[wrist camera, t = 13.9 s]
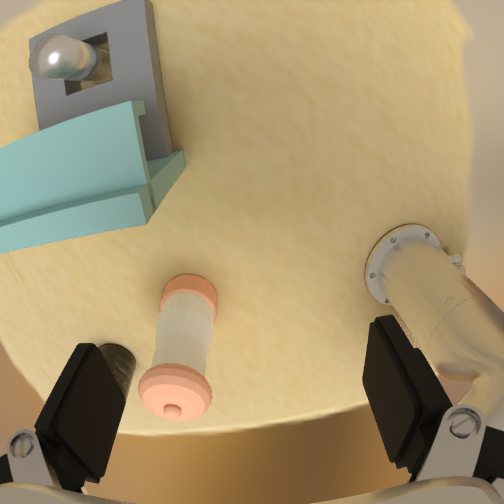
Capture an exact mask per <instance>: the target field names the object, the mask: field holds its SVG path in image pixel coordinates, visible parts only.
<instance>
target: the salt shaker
mask: <svg viewBox="0 0 504 504" xmlns="http://www.w3.org/2000/svg"><path fill="white" fill-rule="evenodd" d="M159 311H160V315H159V318H158V322H157V326H156V350H155V354H154V358H153V363H152V367H151V368H150V369H149V370H147V371H146V373H145V374H144V375H143V376H142V377H141V379H140V380H139V385H138V390H139V395H140V398H141V401H142V402H143V404H144V406H145V407H146V408H147V409H148V410H149V411H150V412H151V413H153V414H154V415H156V416H158V417H161V418H163V419H166V420H171V421H181V422H183V421H190V420H193V419H196V418H198V417H199V416H201V415H202V414H203V413H204V412H205V411H206V410H207V409H208V407H209V405H210V403H211V400H212V390H211V388H210V385H209V384H208V382H207V380H206V379H205V369H206V357H207V353H208V350H209V347H210V343H211V340H212V337H213V324H214V322H215V319H216V316H217V293H216V291H215V289H214V287H213V286H212V285H211V284H210V282H209V281H207V280H205V279H204V278H202V277H200V276H196V275H186V274H184V275H180V276H177V277H175V278H173V279H172V280H170V281H169V282H168V284H167V285H166V287H165V289H164V292H163V295H162V299H161V302H160V306H159Z"/></svg>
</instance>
